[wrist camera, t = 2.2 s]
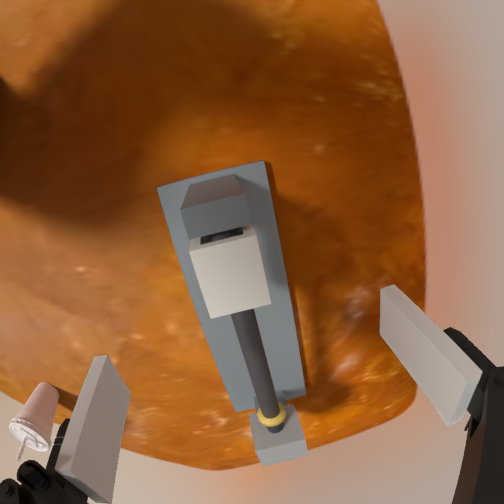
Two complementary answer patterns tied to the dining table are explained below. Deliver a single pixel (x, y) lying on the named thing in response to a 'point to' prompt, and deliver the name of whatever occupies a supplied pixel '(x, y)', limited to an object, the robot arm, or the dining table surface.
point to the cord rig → (249, 321)
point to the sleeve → (230, 272)
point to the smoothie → (36, 419)
